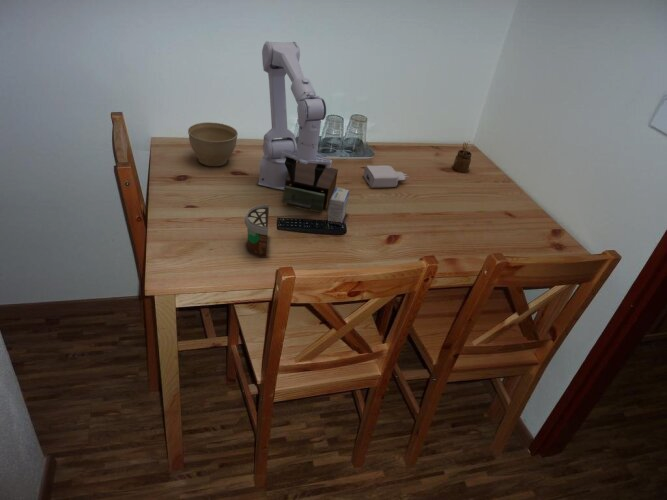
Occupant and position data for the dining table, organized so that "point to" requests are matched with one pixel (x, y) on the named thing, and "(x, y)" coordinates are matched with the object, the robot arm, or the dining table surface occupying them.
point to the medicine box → (338, 205)
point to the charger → (382, 176)
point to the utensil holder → (462, 159)
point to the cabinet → (306, 178)
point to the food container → (257, 229)
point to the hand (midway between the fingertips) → (303, 184)
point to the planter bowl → (212, 142)
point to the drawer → (304, 197)
